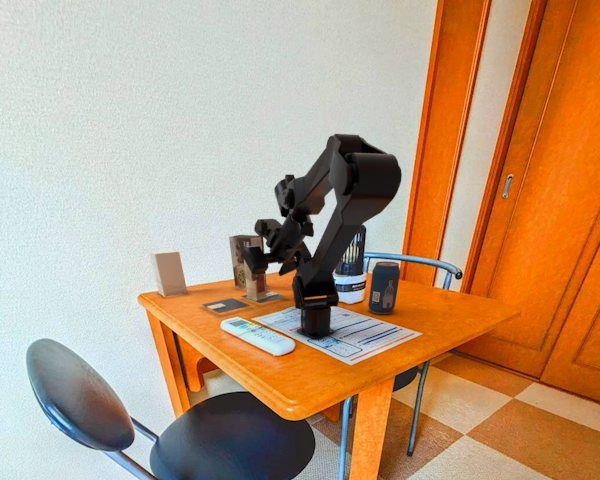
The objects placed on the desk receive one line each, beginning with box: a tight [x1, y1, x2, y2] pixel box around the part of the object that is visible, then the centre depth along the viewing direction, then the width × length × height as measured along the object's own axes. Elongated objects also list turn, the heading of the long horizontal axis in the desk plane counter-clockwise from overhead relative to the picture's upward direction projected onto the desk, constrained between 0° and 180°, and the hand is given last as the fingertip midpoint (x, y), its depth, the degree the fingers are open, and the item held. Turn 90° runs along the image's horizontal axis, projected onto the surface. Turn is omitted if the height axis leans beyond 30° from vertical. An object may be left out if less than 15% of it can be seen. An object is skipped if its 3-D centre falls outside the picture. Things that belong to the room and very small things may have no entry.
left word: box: [201, 297, 252, 314], centre depth 87 cm, size 10×10×1 cm
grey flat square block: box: [241, 290, 287, 304], centre depth 94 cm, size 10×10×1 cm
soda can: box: [367, 261, 401, 315], centre depth 81 cm, size 7×7×12 cm
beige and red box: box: [244, 260, 267, 300], centre depth 89 cm, size 5×4×11 cm
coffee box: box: [228, 234, 267, 290], centre depth 100 cm, size 9×6×16 cm
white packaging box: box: [148, 248, 188, 298], centre depth 97 cm, size 7×7×13 cm
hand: (266, 277), depth 85 cm, fingers open, 9 cm apart
